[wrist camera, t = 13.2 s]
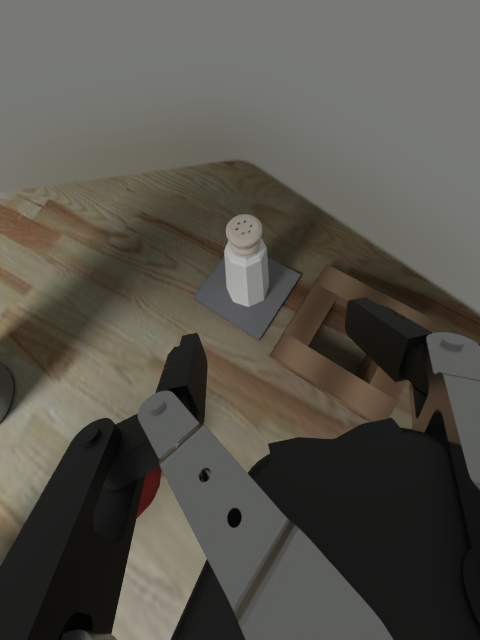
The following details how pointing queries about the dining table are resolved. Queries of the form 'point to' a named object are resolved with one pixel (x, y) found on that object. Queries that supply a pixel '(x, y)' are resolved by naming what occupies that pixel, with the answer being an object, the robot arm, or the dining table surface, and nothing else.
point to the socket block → (351, 391)
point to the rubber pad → (242, 316)
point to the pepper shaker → (246, 261)
